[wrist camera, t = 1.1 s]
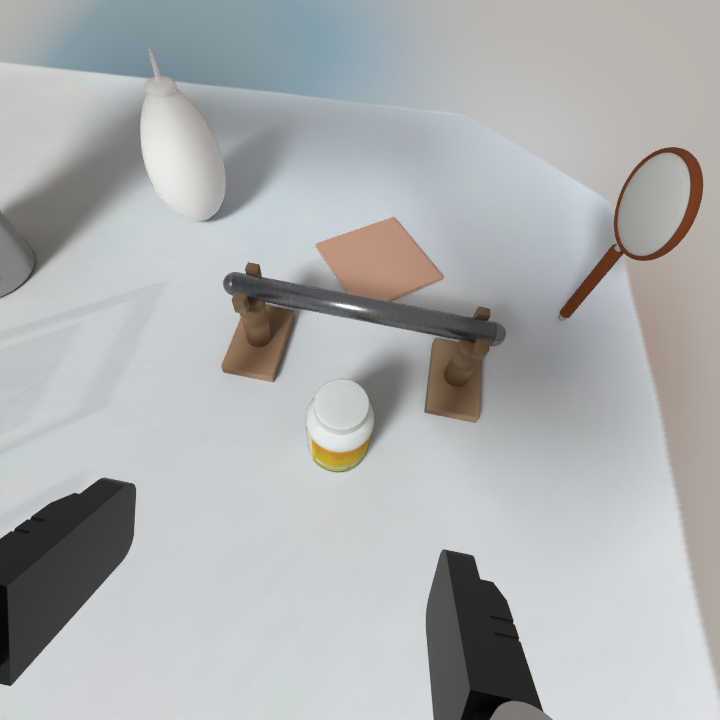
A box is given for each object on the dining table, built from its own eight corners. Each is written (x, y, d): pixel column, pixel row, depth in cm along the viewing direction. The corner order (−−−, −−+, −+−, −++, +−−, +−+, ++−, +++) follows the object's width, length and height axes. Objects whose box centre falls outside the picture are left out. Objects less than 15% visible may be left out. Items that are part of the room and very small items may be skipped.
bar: (222, 298, 36) (217, 283, 34) (230, 280, 37) (225, 265, 35) (500, 352, 35) (509, 339, 34) (500, 333, 36) (509, 319, 35)
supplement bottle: (299, 432, 39) (292, 385, 31) (351, 409, 41) (358, 359, 32) (322, 485, 37) (322, 450, 28) (377, 459, 38) (391, 419, 30)
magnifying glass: (578, 351, 46) (730, 198, 29) (563, 351, 46) (707, 197, 29) (558, 289, 50) (680, 124, 33) (544, 289, 50) (659, 122, 33)
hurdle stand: (223, 372, 42) (198, 313, 33) (249, 308, 46) (232, 242, 37) (475, 422, 41) (514, 375, 33) (478, 353, 45) (513, 296, 37)
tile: (315, 246, 51) (315, 243, 50) (393, 220, 54) (393, 217, 54) (360, 313, 46) (361, 310, 46) (442, 279, 50) (443, 276, 49)
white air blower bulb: (211, 245, 50) (160, 82, 34) (154, 224, 51) (79, 56, 35) (245, 205, 54) (213, 42, 38) (192, 186, 55) (139, 19, 39)
